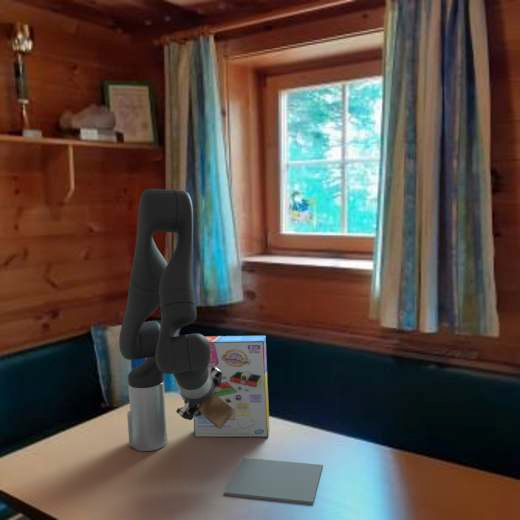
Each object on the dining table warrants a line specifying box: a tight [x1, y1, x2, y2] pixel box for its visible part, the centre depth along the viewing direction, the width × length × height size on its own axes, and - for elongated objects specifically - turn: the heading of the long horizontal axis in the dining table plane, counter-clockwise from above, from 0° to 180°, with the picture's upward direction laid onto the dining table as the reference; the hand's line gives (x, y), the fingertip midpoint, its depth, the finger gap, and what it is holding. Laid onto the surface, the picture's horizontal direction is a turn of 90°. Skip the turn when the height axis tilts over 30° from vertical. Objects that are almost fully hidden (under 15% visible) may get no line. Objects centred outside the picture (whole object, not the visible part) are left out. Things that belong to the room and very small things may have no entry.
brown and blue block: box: [179, 392, 233, 429], centre depth 134 cm, size 5×5×12 cm
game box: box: [193, 335, 270, 438], centre depth 152 cm, size 21×6×27 cm, turn 84°
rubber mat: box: [223, 457, 324, 505], centre depth 129 cm, size 20×16×1 cm
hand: (204, 404), depth 136 cm, fingers closed on brown and blue block, 5 cm apart
